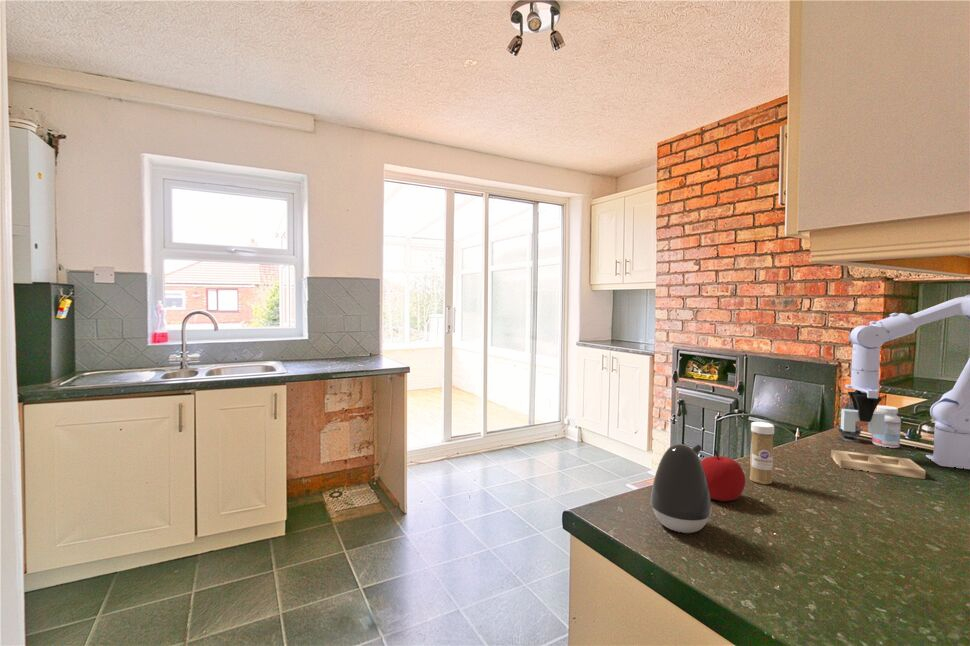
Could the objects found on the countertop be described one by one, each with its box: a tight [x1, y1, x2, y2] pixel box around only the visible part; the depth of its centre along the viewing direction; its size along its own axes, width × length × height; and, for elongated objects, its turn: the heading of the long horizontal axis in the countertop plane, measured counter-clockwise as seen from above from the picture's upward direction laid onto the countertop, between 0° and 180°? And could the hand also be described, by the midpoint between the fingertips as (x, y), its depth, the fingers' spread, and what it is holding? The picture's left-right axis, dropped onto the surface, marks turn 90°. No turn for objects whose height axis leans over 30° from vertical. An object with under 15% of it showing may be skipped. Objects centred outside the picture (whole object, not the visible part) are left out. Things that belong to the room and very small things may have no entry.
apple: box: [700, 450, 746, 502], centre depth 95 cm, size 9×9×10 cm
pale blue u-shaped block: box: [840, 408, 885, 435], centre depth 122 cm, size 8×3×6 cm, turn 64°
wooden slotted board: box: [830, 449, 926, 480], centre depth 113 cm, size 16×9×2 cm, turn 64°
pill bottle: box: [871, 404, 902, 449], centre depth 131 cm, size 6×6×11 cm
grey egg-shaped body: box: [650, 443, 712, 534], centre depth 83 cm, size 10×10×15 cm
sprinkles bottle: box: [749, 421, 775, 485], centre depth 104 cm, size 5×5×14 cm
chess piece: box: [836, 399, 863, 443], centre depth 136 cm, size 6×6×12 cm
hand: (862, 419), depth 122 cm, fingers closed on pale blue u-shaped block, 3 cm apart
